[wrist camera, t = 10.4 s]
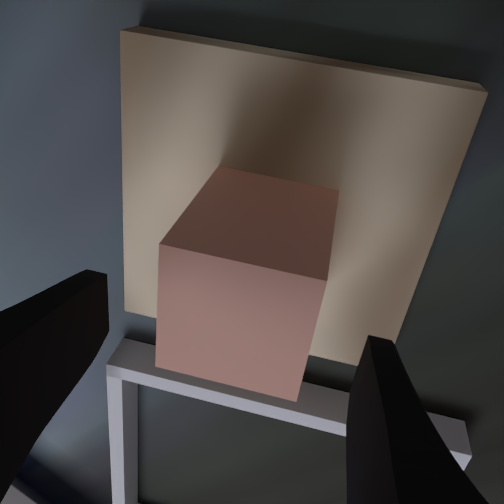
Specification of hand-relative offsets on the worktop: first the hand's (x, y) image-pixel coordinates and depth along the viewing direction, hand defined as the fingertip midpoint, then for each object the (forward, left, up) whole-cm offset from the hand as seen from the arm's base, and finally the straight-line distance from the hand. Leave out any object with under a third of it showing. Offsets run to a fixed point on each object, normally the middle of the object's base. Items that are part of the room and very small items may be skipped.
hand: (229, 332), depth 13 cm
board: (0, 0, -8) cm, 8 cm away
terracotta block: (0, 0, -7) cm, 7 cm away
